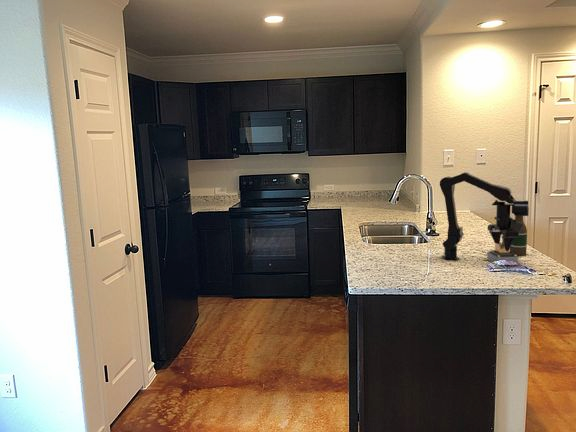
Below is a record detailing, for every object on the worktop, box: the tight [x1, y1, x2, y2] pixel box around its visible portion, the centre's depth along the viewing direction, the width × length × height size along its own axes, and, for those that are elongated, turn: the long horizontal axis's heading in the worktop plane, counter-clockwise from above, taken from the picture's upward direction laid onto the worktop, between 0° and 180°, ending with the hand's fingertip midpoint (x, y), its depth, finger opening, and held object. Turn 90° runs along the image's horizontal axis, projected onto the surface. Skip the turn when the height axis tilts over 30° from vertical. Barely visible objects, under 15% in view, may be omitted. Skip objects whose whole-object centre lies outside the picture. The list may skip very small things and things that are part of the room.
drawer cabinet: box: [486, 249, 519, 264], centre depth 216 cm, size 11×9×5 cm
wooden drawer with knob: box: [494, 240, 510, 254], centre depth 216 cm, size 5×5×9 cm
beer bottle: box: [510, 216, 528, 257], centre depth 229 cm, size 8×8×24 cm
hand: (502, 248), depth 216 cm, fingers open, 9 cm apart
